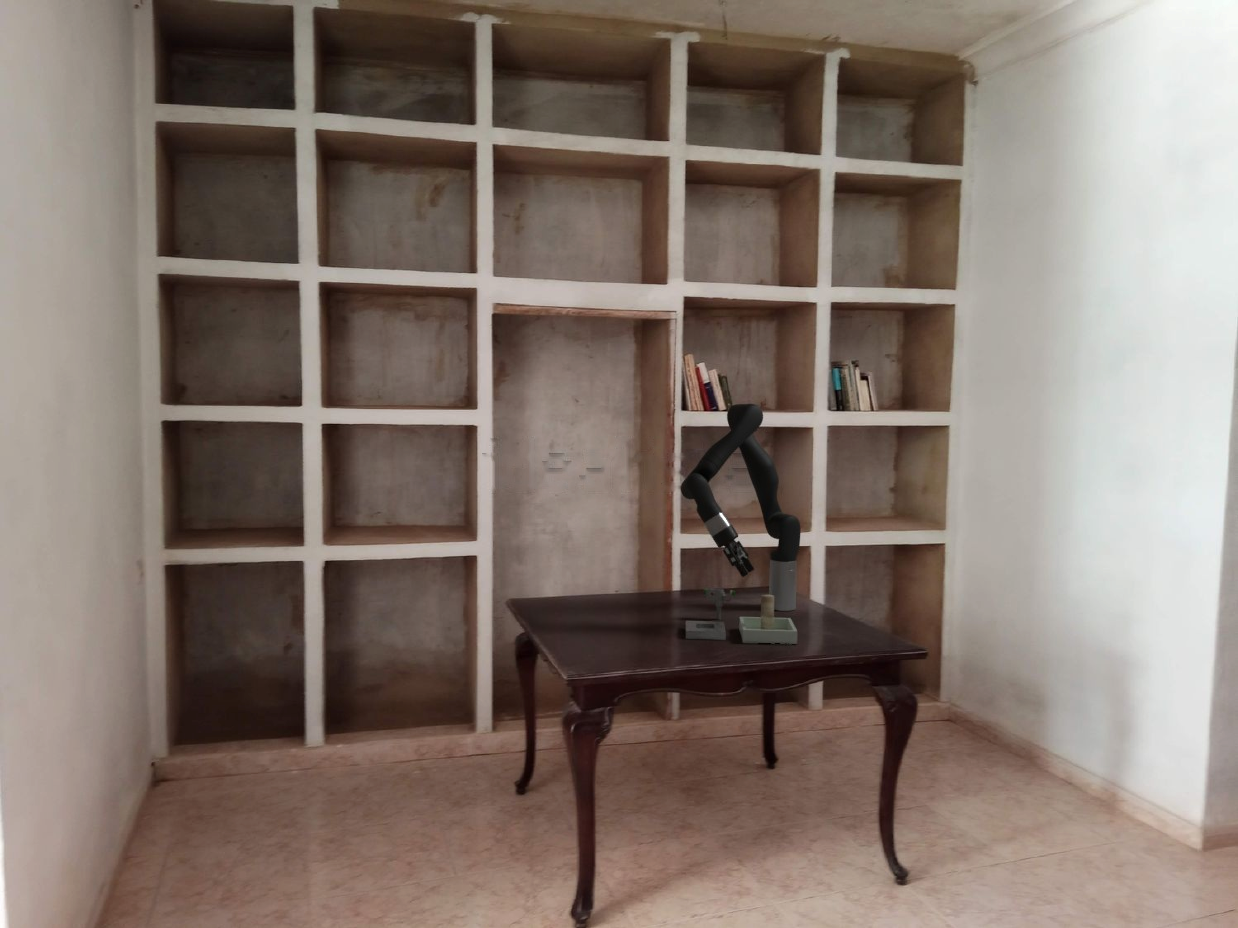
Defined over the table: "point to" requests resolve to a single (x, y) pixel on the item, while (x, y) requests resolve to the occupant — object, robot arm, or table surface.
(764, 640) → the tray
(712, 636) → the socket block
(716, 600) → the mechanical component
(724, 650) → the table surface
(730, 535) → the robot arm
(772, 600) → the dowel
